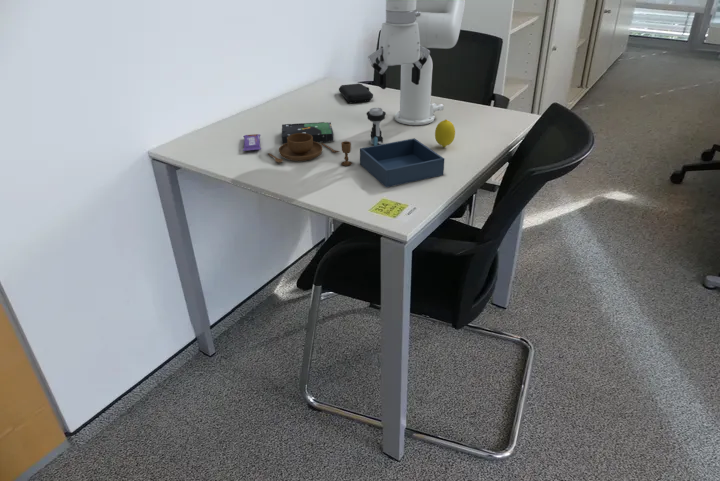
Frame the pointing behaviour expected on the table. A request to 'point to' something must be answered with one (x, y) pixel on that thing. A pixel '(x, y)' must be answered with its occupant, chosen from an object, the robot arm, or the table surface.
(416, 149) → the bin
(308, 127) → the disk drive
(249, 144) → the snack package
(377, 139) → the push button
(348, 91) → the carrying case
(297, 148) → the place setting
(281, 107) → the table surface
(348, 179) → the table surface
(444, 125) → the lemon
